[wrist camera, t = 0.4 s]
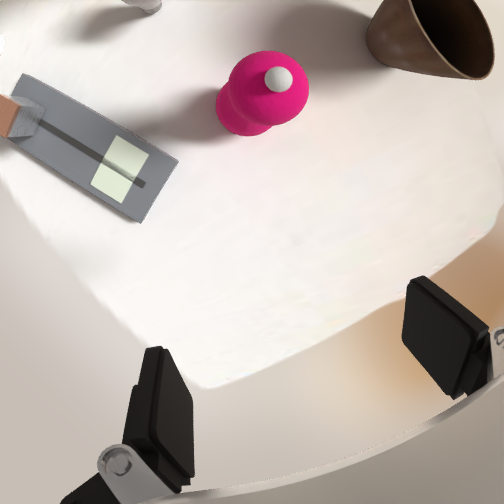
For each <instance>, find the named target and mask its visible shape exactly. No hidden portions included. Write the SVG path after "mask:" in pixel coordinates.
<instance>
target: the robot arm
mask: <svg viewBox="0 0 504 504" xmlns="http://www.w3.org/2000/svg"><path fill="white" fill-rule="evenodd" d="M488 329H489V327H488V326H487V325H486V324H485V323H484V322H483V321H481V320H480V319H479V318H478V317H476V316H475V315H474V314H473V313H472V312H471V311H469V310H468V309H467V308H466V307H464V306H463V305H462V304H460V303H459V302H458V301H457V300H456V299H454V298H453V297H452V296H450V295H449V294H448V293H447V292H445V291H444V290H443V289H441V288H440V287H438V286H437V285H436V284H435V283H433V282H432V281H431V280H430V279H428V278H427V277H425V276H419V277H417V278H414V279H412V280H410V282H409V284H408V285H407V291H406V302H405V312H404V321H403V329H402V341H403V343H404V345H405V346H406V347H407V348H408V349H409V351H410V352H411V353H412V354H413V355H414V356H415V358H416V359H417V360H418V361H419V362H420V364H421V365H422V366H423V367H424V368H425V370H426V371H427V372H428V373H429V374H430V376H431V377H432V378H433V379H434V381H435V382H436V383H437V384H438V386H439V387H440V388H441V389H442V391H443V392H444V393H445V394H446V395H450V396H451V398H452V399H453V400H455V399H456V398H458V397H460V396H461V395H463V394H464V392H465V393H466V394H467V398H465V399H463V400H462V401H460V402H459V403H457V404H455V405H454V406H452V407H451V408H449V409H447V410H446V411H444V412H442V413H440V414H439V415H437V416H435V417H433V418H432V419H430V420H428V421H426V422H424V423H422V424H421V425H419V426H417V427H415V428H413V429H411V430H409V431H407V432H405V433H403V434H401V435H399V436H397V437H394V438H392V439H390V440H388V441H386V442H383V443H381V444H379V445H377V446H375V447H372V448H369V449H367V450H364V451H362V452H359V453H357V454H354V455H351V456H349V457H346V458H343V459H340V460H337V461H334V462H331V463H328V464H325V465H322V466H319V467H316V468H312V469H309V470H305V471H302V472H298V473H294V474H290V475H286V476H282V477H278V478H273V479H269V480H264V481H259V482H254V483H249V484H243V485H237V486H232V487H225V488H217V489H209V490H202V491H194V492H186V493H180V492H181V491H182V490H181V486H185V485H191V484H190V478H193V477H194V475H195V470H194V436H193V400H192V397H191V394H190V392H189V390H188V389H187V387H186V385H185V383H184V381H183V379H182V377H181V375H180V373H179V371H178V369H177V367H176V365H175V363H174V360H173V358H172V356H171V354H170V352H169V350H168V349H163V347H162V346H156V347H151V348H146V350H145V354H144V358H143V363H142V368H141V373H140V377H139V381H138V385H134V386H133V389H132V393H131V397H130V402H129V407H128V412H127V417H126V423H125V428H124V434H123V440H122V444H116V445H112V446H110V447H108V448H106V449H105V450H104V451H103V452H102V453H101V455H100V456H99V459H98V462H97V468H98V471H99V472H98V473H97V474H96V475H94V476H93V477H92V478H90V479H89V480H88V481H86V482H85V483H84V484H82V485H81V486H80V487H78V488H77V489H76V490H74V491H73V492H71V493H70V494H69V495H67V496H66V497H65V498H64V499H63V500H62V501H61V503H60V504H504V326H502V327H497V328H495V329H494V330H493V331H492V332H491V334H490V333H489V332H488Z"/></svg>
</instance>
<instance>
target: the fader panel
mask: <svg viewBox="0 0 504 504" xmlns="http://www.w3.org/2000/svg"><path fill="white" fill-rule="evenodd" d="M11 96H17V97H25V98H29V99H31V100H32V101H34V102H36V103H38V104H39V105H41V106H43V107H45V108H46V110H45V111H44V113H43V115H42V117H41V120H40V122H39V124H38V126H37V128H36V130H35V132H34V135H33V136H18V137H6V138H8V139H9V140H11V141H12V142H14V143H15V144H17V145H18V146H20V147H21V148H23V149H24V150H25V151H27V152H28V153H30V154H31V155H33V156H34V157H36V158H37V159H39V160H41V161H42V162H44V163H45V164H47V165H48V166H50V167H51V168H53V169H54V170H56V171H57V172H59V173H60V174H62V175H63V176H65V177H67V178H68V179H70V180H71V181H73V182H74V183H76V184H78V185H79V186H81V187H82V188H84V189H85V190H87V191H89V192H90V193H92V194H93V195H95V196H97V197H98V198H100V199H101V200H103V201H105V202H106V203H108V204H109V205H111V206H113V207H114V208H116V209H117V210H119V211H121V212H122V213H124V214H126V215H127V216H129V217H131V218H132V219H134V220H135V221H137V222H139V223H140V224H141V223H142V221H143V220H144V219H145V217H146V215H147V213H148V211H149V210H150V208H151V206H152V205H153V203H154V201H155V199H156V198H157V196H158V194H159V193H160V191H161V189H162V188H163V186H164V184H165V183H166V181H167V180H168V178H169V176H170V175H171V173H172V172H173V170H174V168H175V167H176V165H177V164H178V162H179V161H178V160H176V159H175V158H173V157H171V156H170V155H168V154H167V153H165V152H163V151H162V150H160V149H158V148H157V147H155V146H153V145H152V144H150V143H148V142H147V141H145V140H143V139H142V138H140V137H138V136H137V135H135V134H133V133H132V132H130V131H128V130H127V129H125V128H123V127H122V126H120V125H118V124H116V123H115V122H113V121H111V120H110V119H108V118H106V117H104V116H103V115H101V114H99V113H97V112H96V111H94V110H92V109H90V108H89V107H87V106H85V105H83V104H81V103H80V102H78V101H76V100H74V99H73V98H71V97H69V96H67V95H65V94H63V93H62V92H60V91H58V90H56V89H54V88H52V87H51V86H49V85H47V84H45V83H43V82H41V81H39V80H37V79H36V78H34V77H32V76H30V75H26V74H22V75H21V77H20V79H19V81H18V83H17V85H16V87H15V89H14V91H13V93H12V95H11Z"/></svg>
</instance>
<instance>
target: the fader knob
mask: <svg viewBox="0 0 504 504" xmlns="http://www.w3.org/2000/svg"><path fill="white" fill-rule="evenodd" d="M45 110H46V108H45V107H43V106H41V105H39V104H38V103H36V102H34V101H32V100H31V99H29V98H25V97H17V96H10V95H2V94H0V135H1V136H3V137H4V138H6V137H18V136H33V135H34V132H35V130H36V128H37V126H38V124H39V122H40V120H41V117H42V115H43V113H44V111H45Z"/></svg>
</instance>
